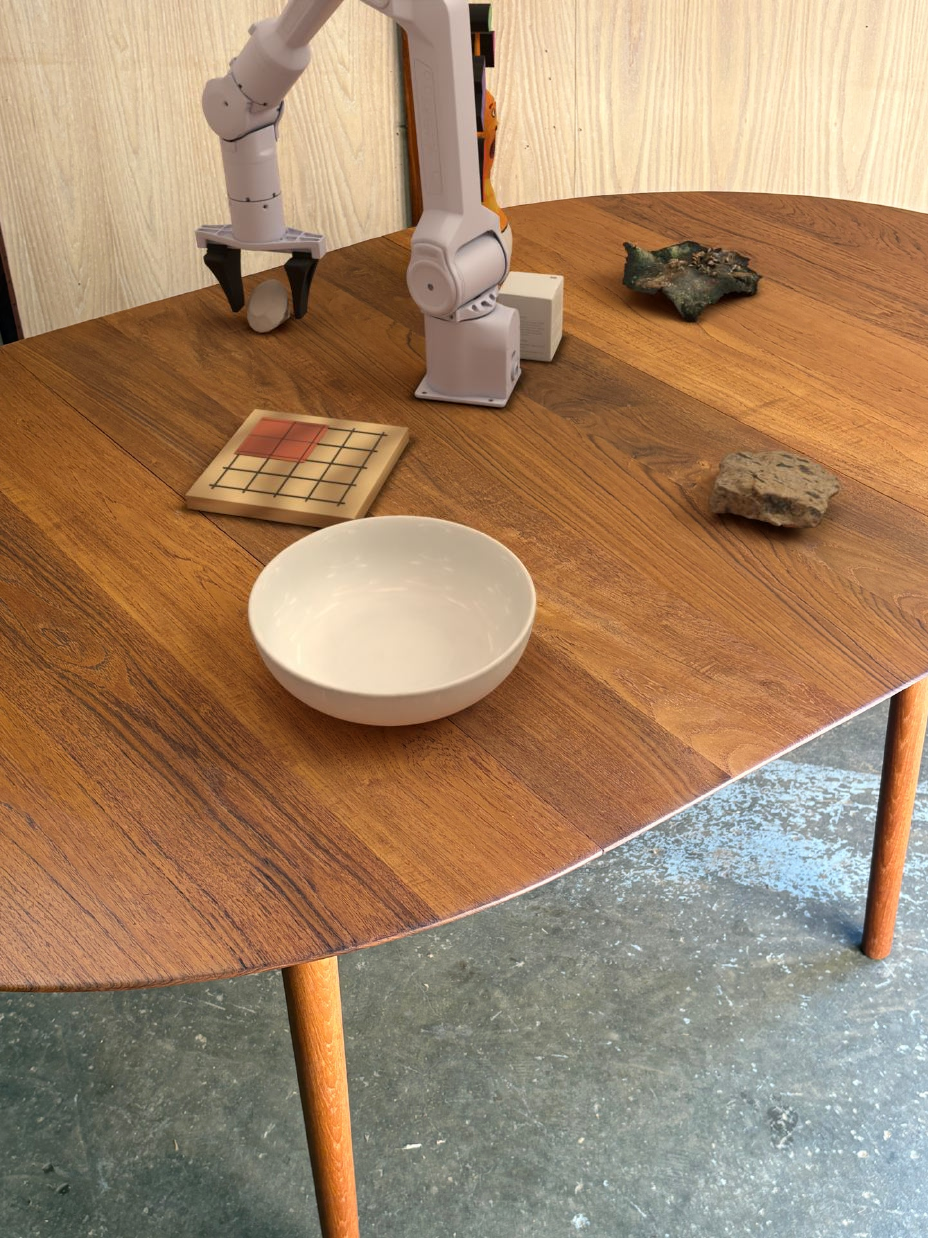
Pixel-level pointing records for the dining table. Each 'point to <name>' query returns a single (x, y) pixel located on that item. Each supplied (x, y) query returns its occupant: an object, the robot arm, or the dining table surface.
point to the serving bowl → (392, 618)
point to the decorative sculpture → (485, 107)
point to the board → (299, 469)
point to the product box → (535, 311)
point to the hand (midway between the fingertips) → (269, 312)
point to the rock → (773, 488)
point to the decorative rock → (688, 274)
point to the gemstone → (268, 306)
